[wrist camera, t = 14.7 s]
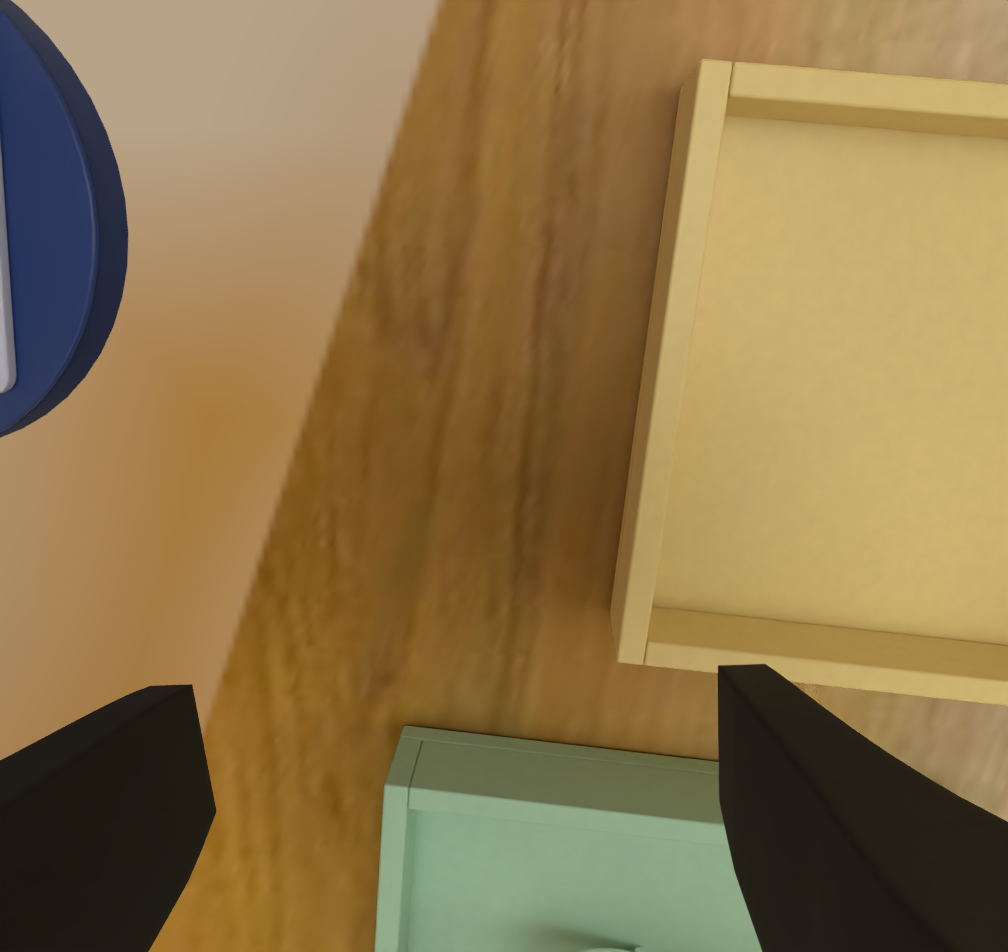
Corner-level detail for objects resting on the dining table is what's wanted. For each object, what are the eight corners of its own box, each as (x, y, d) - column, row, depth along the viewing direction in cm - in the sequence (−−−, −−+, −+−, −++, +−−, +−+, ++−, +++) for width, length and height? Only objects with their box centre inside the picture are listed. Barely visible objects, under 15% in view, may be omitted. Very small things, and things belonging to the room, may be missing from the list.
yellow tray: (609, 613, 21) (616, 663, 18) (680, 85, 17) (700, 57, 15) (1106, 668, 20) (1184, 727, 18) (1274, 136, 17) (1399, 114, 14)
